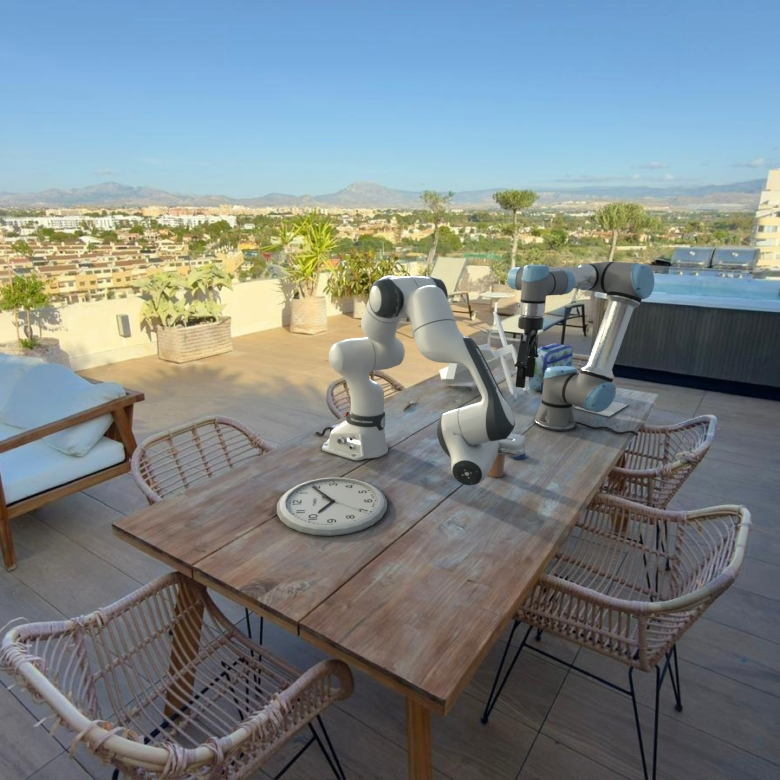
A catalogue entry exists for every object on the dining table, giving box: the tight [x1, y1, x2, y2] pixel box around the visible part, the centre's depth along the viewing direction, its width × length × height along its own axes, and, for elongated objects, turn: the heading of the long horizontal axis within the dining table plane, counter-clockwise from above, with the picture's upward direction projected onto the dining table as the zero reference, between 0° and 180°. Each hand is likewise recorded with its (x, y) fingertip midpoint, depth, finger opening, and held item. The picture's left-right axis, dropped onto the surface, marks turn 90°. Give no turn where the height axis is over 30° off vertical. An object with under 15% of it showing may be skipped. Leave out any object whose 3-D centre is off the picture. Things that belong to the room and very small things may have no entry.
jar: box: [487, 454, 506, 478], centre depth 161 cm, size 5×5×15 cm
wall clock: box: [276, 476, 388, 537], centre depth 142 cm, size 30×2×30 cm
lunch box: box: [528, 343, 574, 392], centre depth 249 cm, size 26×11×21 cm, turn 134°
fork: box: [403, 395, 419, 411], centre depth 222 cm, size 3×16×2 cm, turn 160°
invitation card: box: [573, 400, 629, 418], centre depth 226 cm, size 21×1×15 cm
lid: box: [509, 450, 526, 460], centre depth 176 cm, size 5×5×2 cm
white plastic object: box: [438, 310, 531, 400], centre depth 245 cm, size 37×45×31 cm
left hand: (492, 429), depth 147 cm, fingers open, 8 cm apart
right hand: (524, 381), depth 168 cm, fingers open, 13 cm apart
